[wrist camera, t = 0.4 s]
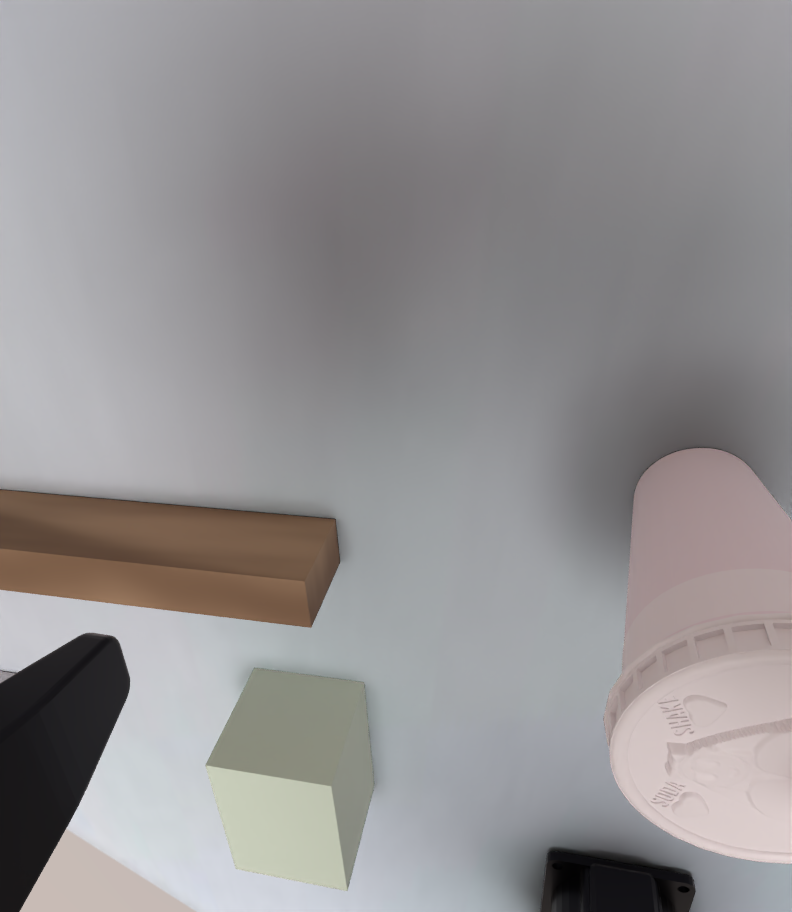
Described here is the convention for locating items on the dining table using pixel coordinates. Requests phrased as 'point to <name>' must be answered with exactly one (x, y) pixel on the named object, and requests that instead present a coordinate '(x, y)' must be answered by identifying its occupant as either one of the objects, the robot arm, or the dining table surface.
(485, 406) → the dining table surface
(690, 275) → the dining table surface
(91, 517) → the long brown board
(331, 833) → the pale green block
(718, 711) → the smoothie
